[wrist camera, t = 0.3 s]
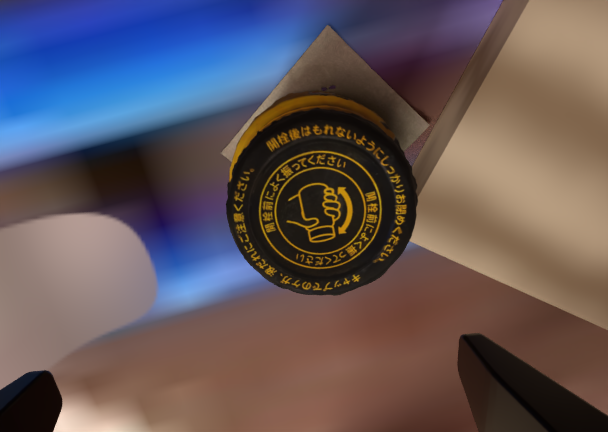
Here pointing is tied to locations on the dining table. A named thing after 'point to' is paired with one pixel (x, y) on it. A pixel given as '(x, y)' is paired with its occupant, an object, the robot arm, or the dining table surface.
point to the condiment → (324, 175)
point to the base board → (526, 157)
